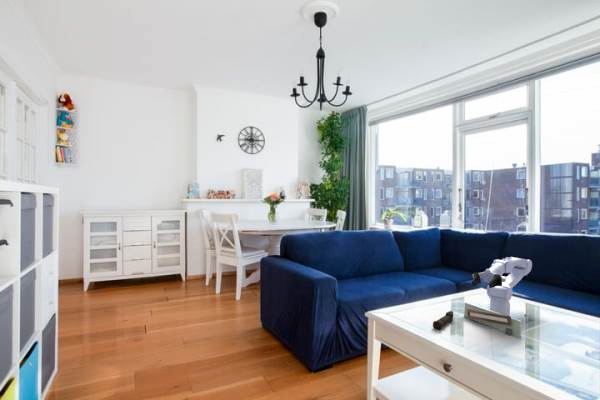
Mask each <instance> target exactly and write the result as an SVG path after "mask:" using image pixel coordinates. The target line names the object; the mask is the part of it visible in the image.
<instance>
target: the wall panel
mask: <svg viewBox="0 0 600 400" xmlns="http://www.w3.org/2000/svg"><path fill="white" fill-rule="evenodd" d="M463 309H464V310H463V316H464V318H468V313H467V309H471V310H477V311H483V312H489V313H495V314H500V313H497V312H494V311H491V310H490V309H488V308H485V307H482V306H480V305H479V306H478V305H476V304H473V303H470V302H467V301H465V302H464V308H463ZM501 315H503V314H501ZM468 319H471V320H473V321H476V322H478V323H481V324H483V325H486V326H489V327H491V328H495V329H497V330H500V331H501V332H504V334H505V335H507V336H515V337H519V338H521V337H522V324H523V320H520V319H517V318H515V317H512V316H511V322H512V326H508V325H503V324H498V323H493V322H487V321H482V320H477V319H472V318H468Z"/></svg>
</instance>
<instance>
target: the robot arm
mask: <svg viewBox="0 0 600 400" xmlns="http://www.w3.org/2000/svg"><path fill="white" fill-rule="evenodd" d="M532 268H533V262H532V260H531V259H525V258H521V257H520V258H519V257H513V256H510V257H505V258H502V259H494V260H493V262H492V263H491V266H490V267H489V268H486V269H485V271H483V272H476V271H474V272H473V273H472V278H473V279H472V280H471V284H472V287H475V286H477V285H478V284H479V285H480V284H482V282H484V283H488V285H487V287H486V294H487V296H488V298H489V299H490V300H489V301H490V302H489V310H491V311H494V312H497V313H500V314H503V315H507V316H510V313H511V303H510V300H511V299H512V297H513V293H514V292H513V287H515V286H516V285H517V284H518V283H519V282H520V281H522V279H523V277H524V276H528V274H530V272H531V271H532ZM503 274H508V275H507V276H503Z"/></svg>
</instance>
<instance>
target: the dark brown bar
mask: <svg viewBox="0 0 600 400" xmlns="http://www.w3.org/2000/svg"><path fill="white" fill-rule="evenodd" d="M453 320H454V311H453V310H449V311H447V312H446V313H445V315H444V316H442V317H440V318H439V319H437V320H434V321H432V327H433V329H434V330H437V331H441V330H442V329H443V328H444V326H446V325H448V324H451V323H452V322H453Z"/></svg>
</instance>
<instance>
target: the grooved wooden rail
mask: <svg viewBox="0 0 600 400" xmlns="http://www.w3.org/2000/svg"><path fill="white" fill-rule="evenodd" d="M467 313H468V319H470V318H472V319H471V320H473V319H477V320H482V321H487V322H493V323H498V324H503V325H508V326H512V322H511V317H512V316H507V315H501V314H495V313H489V312H483V311H477V310H471V309H467Z"/></svg>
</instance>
